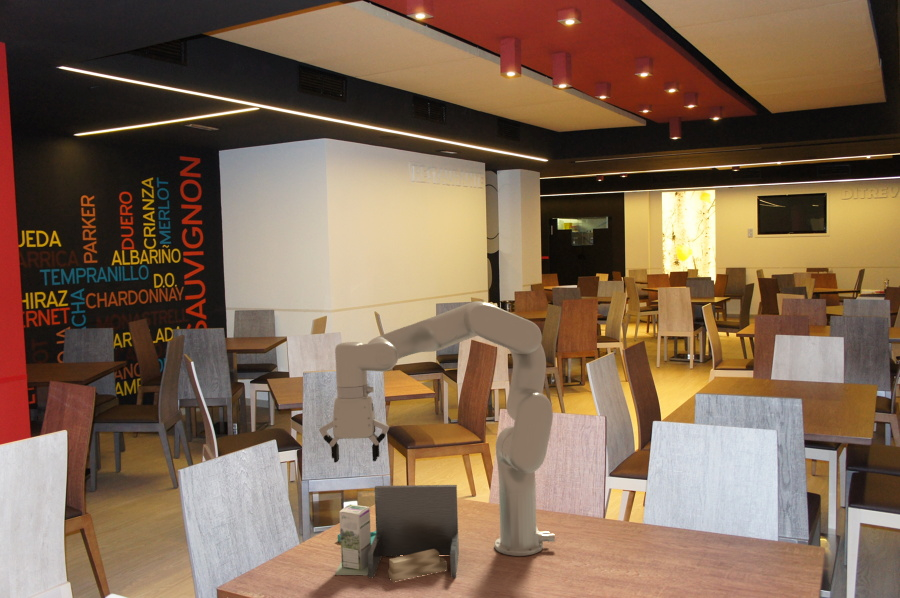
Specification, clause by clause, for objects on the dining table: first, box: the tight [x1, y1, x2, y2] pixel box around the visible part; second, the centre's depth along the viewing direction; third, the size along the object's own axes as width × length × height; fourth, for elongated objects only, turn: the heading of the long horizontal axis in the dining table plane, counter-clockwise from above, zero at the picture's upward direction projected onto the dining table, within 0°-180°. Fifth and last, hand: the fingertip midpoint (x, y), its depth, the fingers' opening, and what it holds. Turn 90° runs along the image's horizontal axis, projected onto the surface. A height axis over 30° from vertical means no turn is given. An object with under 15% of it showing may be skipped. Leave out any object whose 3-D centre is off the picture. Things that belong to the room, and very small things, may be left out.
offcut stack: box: [388, 549, 448, 583], centre depth 181 cm, size 14×3×5 cm, turn 115°
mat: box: [334, 560, 369, 576], centre depth 186 cm, size 8×10×1 cm
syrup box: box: [338, 504, 372, 570], centre depth 186 cm, size 6×6×14 cm
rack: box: [368, 484, 460, 579], centre depth 186 cm, size 21×14×18 cm
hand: (355, 460), depth 186 cm, fingers open, 9 cm apart
